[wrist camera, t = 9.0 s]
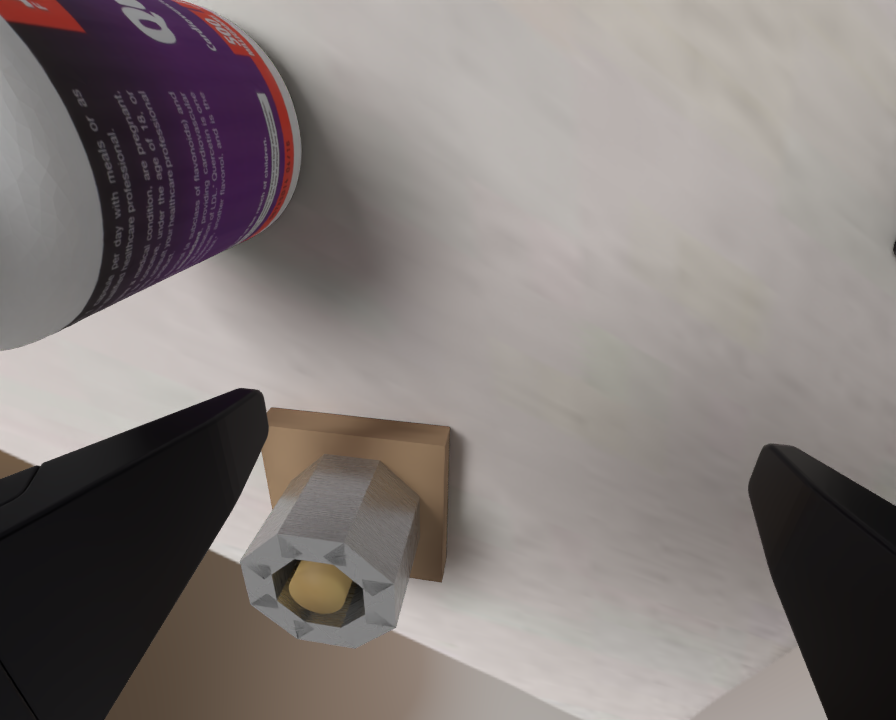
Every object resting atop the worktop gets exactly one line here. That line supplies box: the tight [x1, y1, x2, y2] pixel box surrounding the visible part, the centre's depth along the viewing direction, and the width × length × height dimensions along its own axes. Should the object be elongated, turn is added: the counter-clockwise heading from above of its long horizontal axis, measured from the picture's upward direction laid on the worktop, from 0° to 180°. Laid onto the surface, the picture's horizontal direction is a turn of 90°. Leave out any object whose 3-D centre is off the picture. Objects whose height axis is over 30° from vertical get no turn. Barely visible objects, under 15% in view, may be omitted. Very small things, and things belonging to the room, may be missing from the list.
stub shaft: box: [261, 408, 450, 614], centre depth 24 cm, size 9×9×6 cm
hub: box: [240, 454, 420, 648], centre depth 23 cm, size 6×6×5 cm
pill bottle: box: [0, 0, 301, 351], centre depth 13 cm, size 8×8×14 cm
